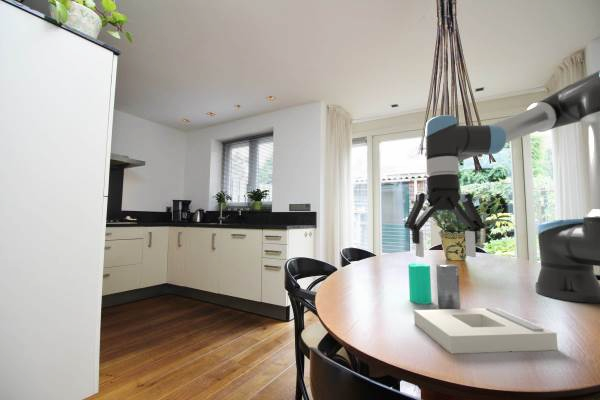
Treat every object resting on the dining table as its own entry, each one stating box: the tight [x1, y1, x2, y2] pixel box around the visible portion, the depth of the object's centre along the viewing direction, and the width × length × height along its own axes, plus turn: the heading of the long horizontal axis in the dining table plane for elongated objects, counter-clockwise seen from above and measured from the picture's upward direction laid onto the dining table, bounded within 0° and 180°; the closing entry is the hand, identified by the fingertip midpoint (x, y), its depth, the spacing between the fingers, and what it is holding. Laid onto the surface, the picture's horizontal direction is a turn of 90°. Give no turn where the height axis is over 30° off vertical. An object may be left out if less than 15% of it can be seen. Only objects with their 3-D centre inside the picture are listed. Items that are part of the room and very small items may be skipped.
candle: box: [408, 262, 433, 304], centre depth 80 cm, size 6×6×12 cm
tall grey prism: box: [435, 263, 462, 310], centre depth 69 cm, size 5×5×12 cm
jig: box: [413, 307, 559, 354], centre depth 56 cm, size 20×14×3 cm
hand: (445, 256), depth 70 cm, fingers open, 13 cm apart
